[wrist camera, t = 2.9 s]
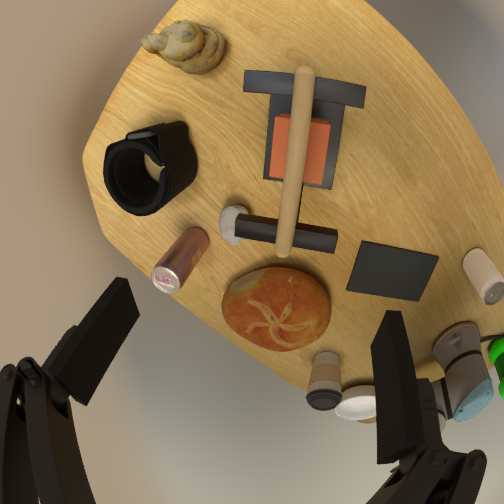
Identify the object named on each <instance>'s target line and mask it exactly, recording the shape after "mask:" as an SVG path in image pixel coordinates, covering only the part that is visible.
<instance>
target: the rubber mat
mask: <svg viewBox="0 0 504 504" xmlns="http://www.w3.org/2000/svg"><path fill="white" fill-rule="evenodd" d="M438 259H439V257H438V256H435V255H430V254H426V253H421V252H416V251H411V250H407V249H402V248H397V247H392V246H387V245H382V244H377V243H372V242H367V241H362V242H361V245H360V248H359V252H358V255H357V258H356V261H355V264H354V268H353V271H352V274H351V277H350V280H349V283H348V286H347V288H346V290H347V291H353V292H359V293H365V294H371V295H378V296H384V297H391V298H397V299H404V300H410V301H417V302H418V301H419V299H420V297H421V295H422V293H423V291H424V289H425V287H426V285H427V283H428V281H429V279H430V277H431V275H432V273H433V271H434V268H435V266H436V264H437V262H438Z"/></svg>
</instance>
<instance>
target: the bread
mask: <svg viewBox="0 0 504 504" xmlns="http://www.w3.org/2000/svg"><path fill="white" fill-rule="evenodd" d="M222 313H223V316H224V319H225V320H226V322H227V324H228V325H229V326H230V327H231V328H232V329H233V330H234V331H235V332H236V333H237V334H239V335H240V336H242V337H243V338H245V339H247V340H249V341H250V342H252V343H254V344H256V345H258V346H260V347H263V348H265V349H268V350H273V351H279V352H286V351H292V350H296V349H299V348H301V347H304V346H306V345H308V344H310V343H312V342H314V341H315V340H317V339H318V338H319V337H320V336H321V335H322V334H323V333H324V332H325V330H326V329H327V327H328V325H329V322H330V317H331V304H330V300H329V297H328V295H327V293H326V291H325V290H324V288H323V287H322V286H321V285H320V284H319V283H318V282H317V281H316V280H315V279H314V278H313V277H311V276H310V275H308V274H306V273H304V272H302V271H298V270H295V269H290V268H283V267H269V268H264V269H260V270H256V271H252V272H250V273H248V274H246V275H244V276H242V277H241V278H239V279H237V280H236V281H234V282H233V283H232V284H231V285H230V286H229V287H228V289H227V290H226V292H225V294H224V296H223V300H222Z"/></svg>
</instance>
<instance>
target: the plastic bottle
mask: <svg viewBox="0 0 504 504" xmlns="http://www.w3.org/2000/svg"><path fill="white" fill-rule="evenodd" d="M489 359H490V361H491V362H492V364H493V365H495V367H496V370H497V373H498V376H499V379H500V384H499V393H500V395H501V396H502V398H503V399H504V337H502V338H498V339H496V340H495V341H494V342H493V343H492V346H491V349H490V351H489Z"/></svg>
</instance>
